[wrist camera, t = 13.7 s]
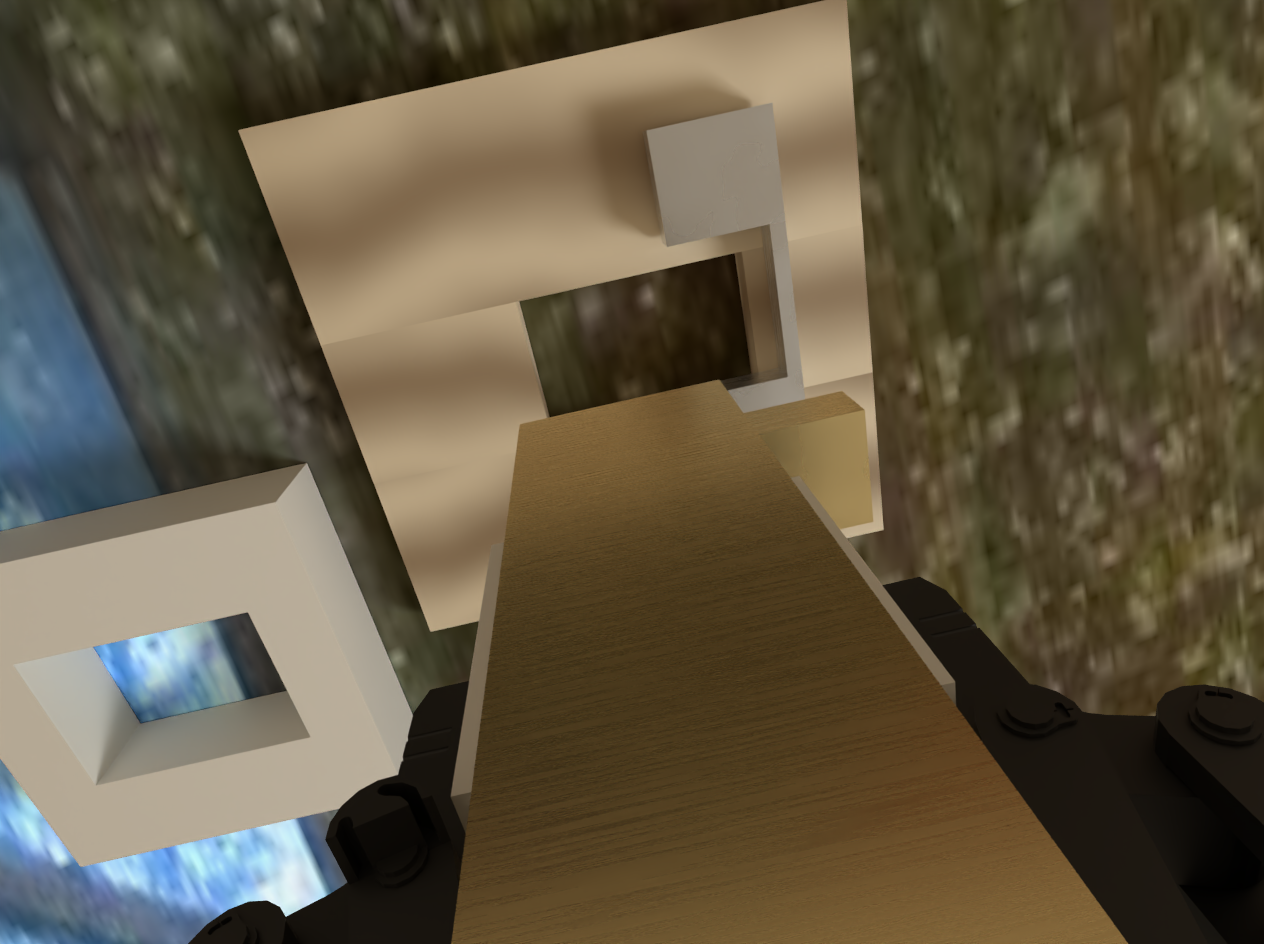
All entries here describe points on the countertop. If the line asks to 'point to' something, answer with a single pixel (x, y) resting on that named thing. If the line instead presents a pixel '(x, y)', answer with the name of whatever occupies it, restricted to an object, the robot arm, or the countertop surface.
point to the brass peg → (728, 708)
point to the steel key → (732, 220)
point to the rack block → (176, 597)
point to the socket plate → (547, 251)
